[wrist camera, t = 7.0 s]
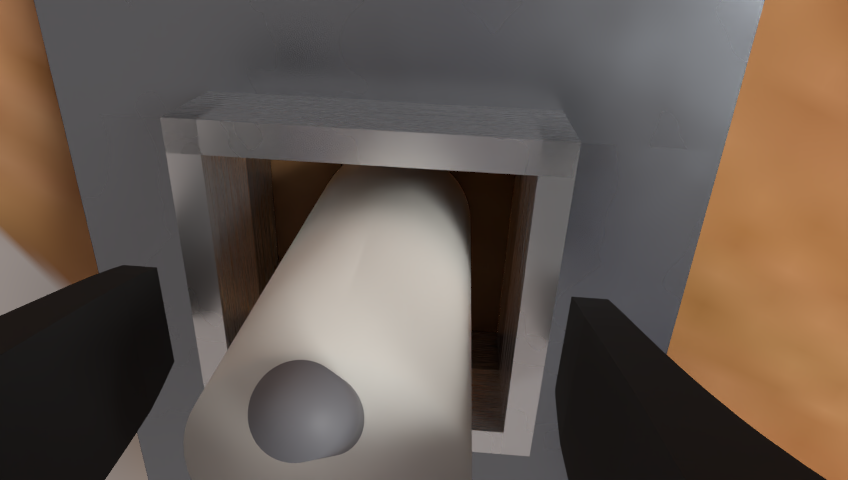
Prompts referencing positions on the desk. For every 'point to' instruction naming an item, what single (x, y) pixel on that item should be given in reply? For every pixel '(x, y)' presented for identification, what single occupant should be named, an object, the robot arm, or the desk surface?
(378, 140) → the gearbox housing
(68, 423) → the robot arm
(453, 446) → the spout can
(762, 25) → the desk surface
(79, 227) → the desk surface
